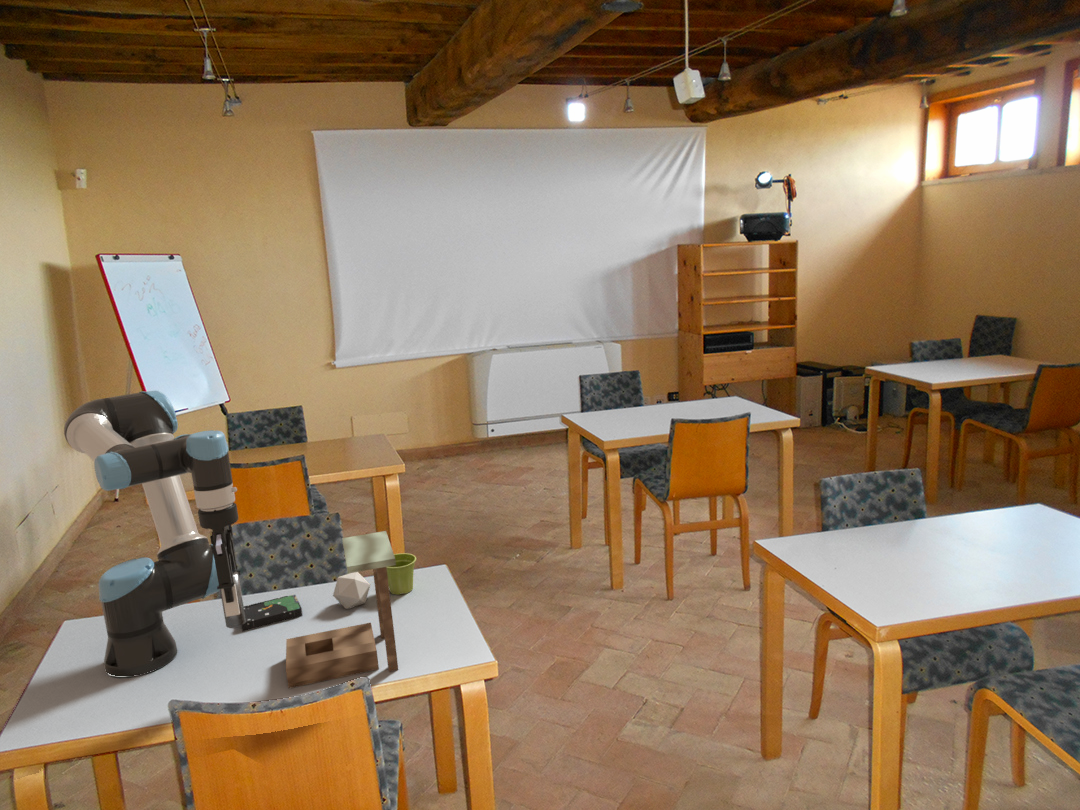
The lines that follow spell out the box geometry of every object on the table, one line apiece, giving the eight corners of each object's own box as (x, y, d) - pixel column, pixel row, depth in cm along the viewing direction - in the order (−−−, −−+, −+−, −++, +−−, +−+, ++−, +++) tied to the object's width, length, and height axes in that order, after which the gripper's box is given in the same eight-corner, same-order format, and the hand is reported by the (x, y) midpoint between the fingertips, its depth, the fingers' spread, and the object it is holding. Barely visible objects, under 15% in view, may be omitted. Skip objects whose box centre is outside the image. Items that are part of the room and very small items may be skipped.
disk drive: (242, 634, 193) (303, 617, 200) (240, 623, 193) (302, 607, 199) (237, 617, 203) (296, 602, 209) (236, 607, 202) (294, 592, 208)
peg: (225, 629, 165) (216, 580, 163) (227, 621, 168) (219, 573, 166) (245, 625, 166) (237, 576, 164) (246, 617, 169) (239, 570, 167)
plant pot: (426, 585, 213) (422, 555, 211) (406, 600, 205) (402, 569, 203) (397, 581, 217) (394, 551, 215) (377, 595, 209) (373, 565, 207)
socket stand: (288, 693, 164) (271, 580, 159) (289, 653, 181) (274, 549, 176) (407, 667, 171) (395, 558, 166) (397, 631, 188) (385, 530, 183)
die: (364, 595, 211) (337, 570, 208) (382, 586, 205) (355, 560, 203) (347, 619, 204) (320, 593, 202) (366, 610, 199) (338, 584, 197)
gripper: (231, 514, 155) (249, 624, 159) (239, 491, 171) (255, 591, 175) (191, 520, 153) (210, 631, 158) (203, 497, 169) (220, 598, 173)
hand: (234, 610), depth 166 cm, fingers closed on peg, 4 cm apart
